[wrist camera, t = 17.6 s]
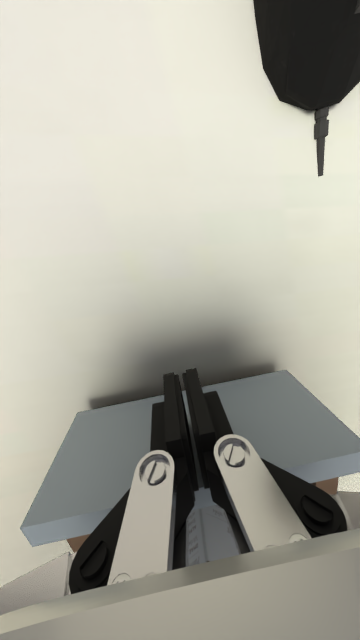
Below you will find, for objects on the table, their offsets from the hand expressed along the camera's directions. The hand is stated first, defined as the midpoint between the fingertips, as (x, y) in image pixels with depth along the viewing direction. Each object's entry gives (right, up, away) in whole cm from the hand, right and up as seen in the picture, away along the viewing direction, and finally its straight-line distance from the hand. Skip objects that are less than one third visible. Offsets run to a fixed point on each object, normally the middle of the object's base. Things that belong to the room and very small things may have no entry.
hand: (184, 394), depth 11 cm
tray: (+2, -9, +6) cm, 11 cm away
